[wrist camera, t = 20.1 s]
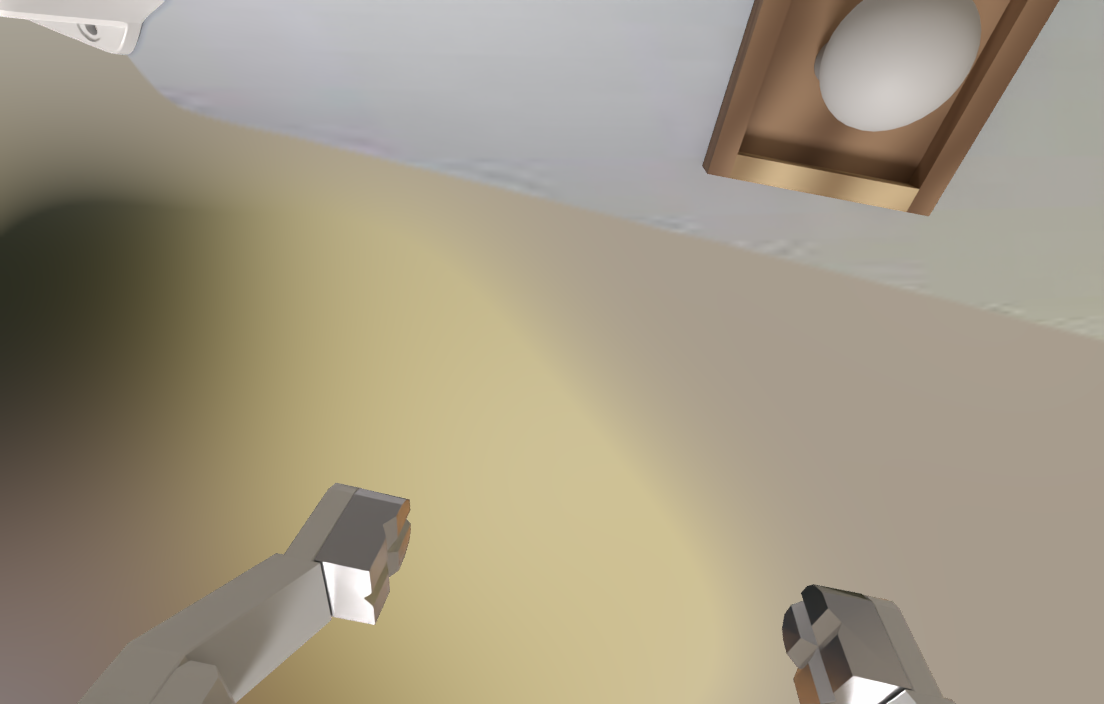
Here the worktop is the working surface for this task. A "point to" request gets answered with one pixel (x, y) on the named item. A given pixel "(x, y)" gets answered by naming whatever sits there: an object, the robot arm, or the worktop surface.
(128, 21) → the robot arm
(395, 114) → the worktop surface
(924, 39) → the lightbulb
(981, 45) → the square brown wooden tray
